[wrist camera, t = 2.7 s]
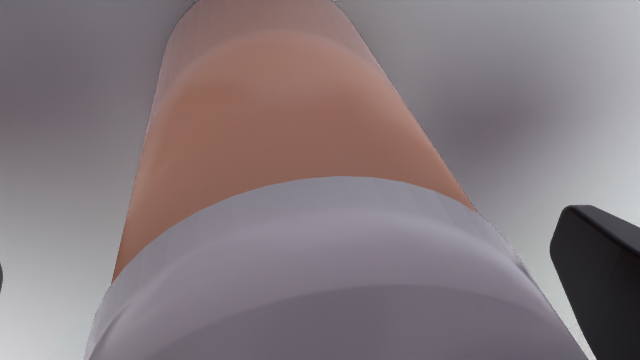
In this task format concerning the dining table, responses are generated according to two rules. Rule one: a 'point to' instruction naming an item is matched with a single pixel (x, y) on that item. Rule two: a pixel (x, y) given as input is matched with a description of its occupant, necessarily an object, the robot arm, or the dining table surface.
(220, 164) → the shaker
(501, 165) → the dining table surface
